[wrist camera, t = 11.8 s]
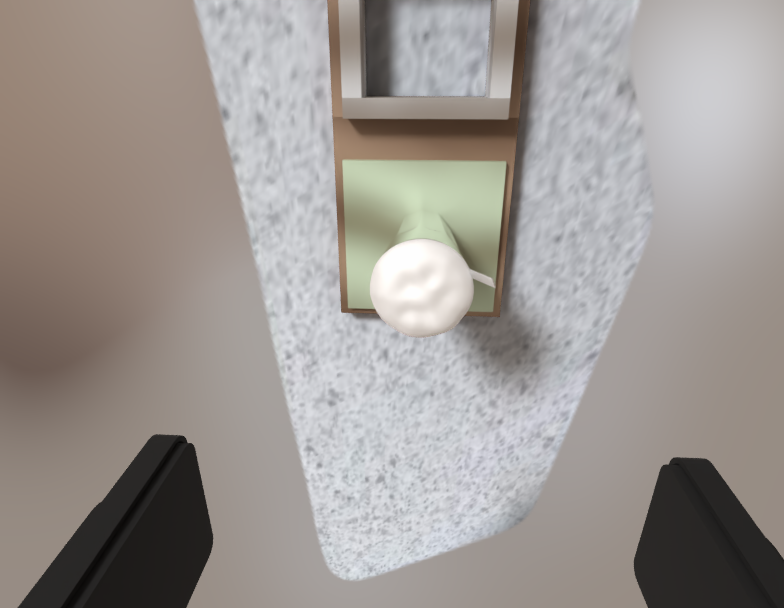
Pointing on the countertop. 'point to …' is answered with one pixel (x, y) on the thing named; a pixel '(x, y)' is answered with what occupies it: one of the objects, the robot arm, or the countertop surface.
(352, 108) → the board
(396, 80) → the countertop surface
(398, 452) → the countertop surface
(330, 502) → the countertop surface
